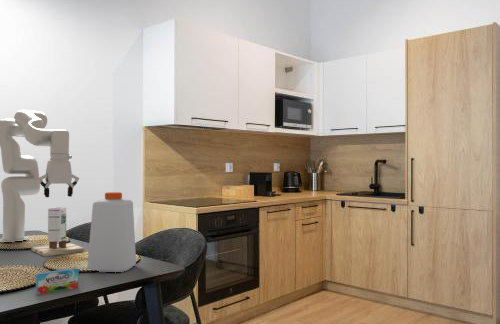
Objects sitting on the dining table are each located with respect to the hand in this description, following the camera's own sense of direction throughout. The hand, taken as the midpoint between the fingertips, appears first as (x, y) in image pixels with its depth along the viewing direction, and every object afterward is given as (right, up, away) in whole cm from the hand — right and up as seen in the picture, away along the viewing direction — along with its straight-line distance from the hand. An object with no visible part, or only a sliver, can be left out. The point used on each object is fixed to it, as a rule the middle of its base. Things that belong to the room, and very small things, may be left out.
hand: (58, 196), depth 197 cm
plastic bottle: (+33, -24, -32) cm, 52 cm away
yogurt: (+26, -24, -62) cm, 72 cm away
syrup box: (-1, -19, 0) cm, 20 cm away
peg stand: (0, -24, 0) cm, 24 cm away
